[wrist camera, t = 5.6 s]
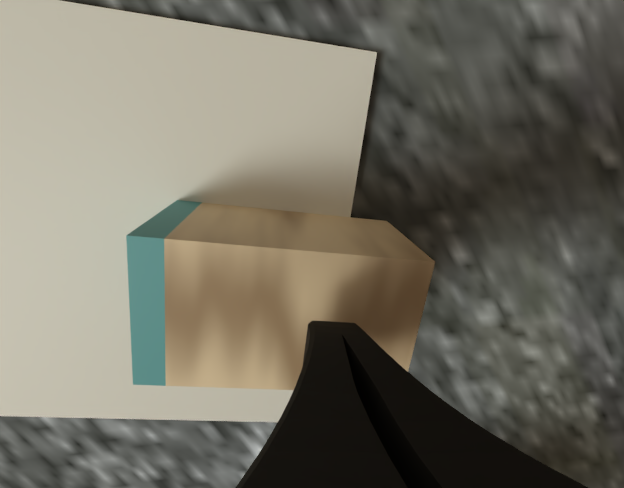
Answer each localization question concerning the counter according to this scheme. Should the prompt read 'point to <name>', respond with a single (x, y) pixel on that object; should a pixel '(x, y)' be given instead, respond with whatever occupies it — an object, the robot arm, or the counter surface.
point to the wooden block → (263, 292)
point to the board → (146, 182)
